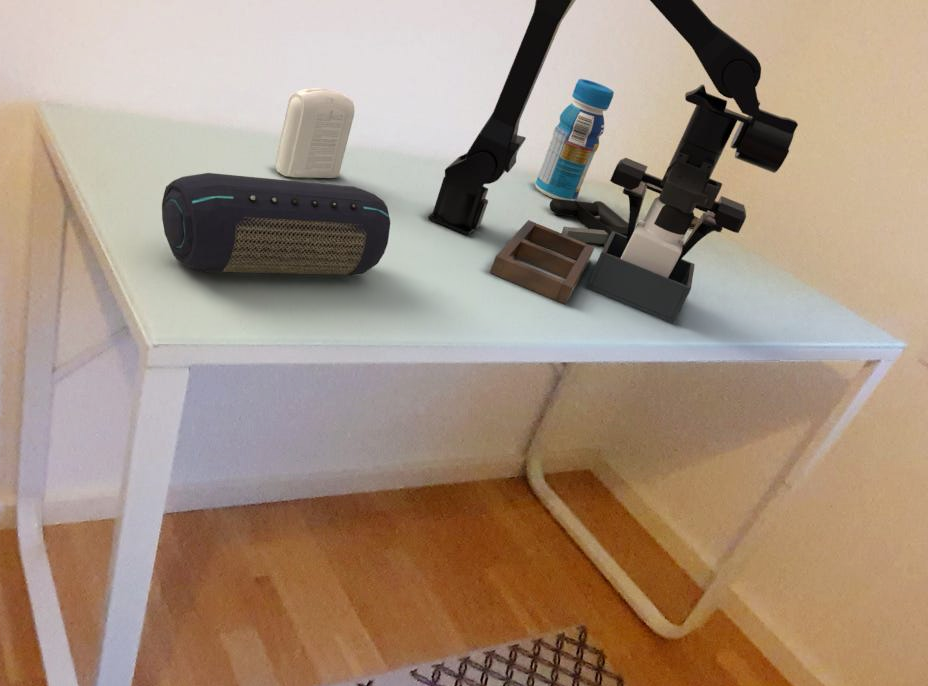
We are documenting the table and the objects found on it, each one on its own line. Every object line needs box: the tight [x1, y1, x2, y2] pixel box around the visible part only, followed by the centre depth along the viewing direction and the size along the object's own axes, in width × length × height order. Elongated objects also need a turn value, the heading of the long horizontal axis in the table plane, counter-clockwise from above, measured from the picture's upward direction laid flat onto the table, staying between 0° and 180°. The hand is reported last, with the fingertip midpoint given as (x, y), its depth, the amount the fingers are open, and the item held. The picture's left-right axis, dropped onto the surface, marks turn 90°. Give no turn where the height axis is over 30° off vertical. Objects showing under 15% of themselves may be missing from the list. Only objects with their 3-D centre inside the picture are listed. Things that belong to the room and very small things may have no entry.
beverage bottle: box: [534, 78, 614, 201], centre depth 152 cm, size 8×8×20 cm
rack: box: [489, 219, 596, 305], centre depth 121 cm, size 11×21×2 cm, turn 162°
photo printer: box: [274, 87, 355, 179], centre depth 121 cm, size 10×4×12 cm, turn 134°
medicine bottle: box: [620, 196, 695, 278], centre depth 121 cm, size 7×7×12 cm
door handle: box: [549, 198, 635, 247], centre depth 142 cm, size 3×20×16 cm
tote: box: [585, 231, 695, 325], centre depth 123 cm, size 13×12×6 cm
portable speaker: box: [161, 172, 391, 277], centre depth 92 cm, size 25×10×10 cm, turn 122°
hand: (652, 250), depth 121 cm, fingers closed on medicine bottle, 7 cm apart
